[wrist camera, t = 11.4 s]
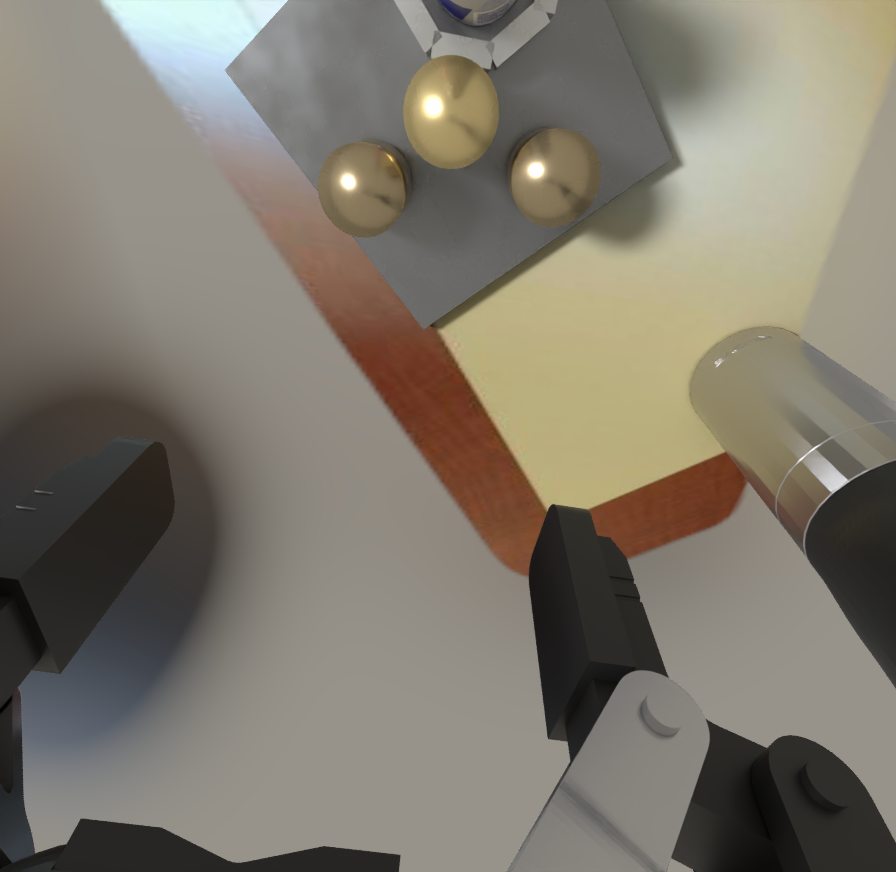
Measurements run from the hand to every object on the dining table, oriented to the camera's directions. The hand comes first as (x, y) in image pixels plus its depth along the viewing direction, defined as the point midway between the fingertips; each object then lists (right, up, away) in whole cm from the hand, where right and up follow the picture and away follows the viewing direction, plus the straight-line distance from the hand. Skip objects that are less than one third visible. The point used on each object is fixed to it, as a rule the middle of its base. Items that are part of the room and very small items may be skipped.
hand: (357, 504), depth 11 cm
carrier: (+2, +22, +22) cm, 31 cm away
